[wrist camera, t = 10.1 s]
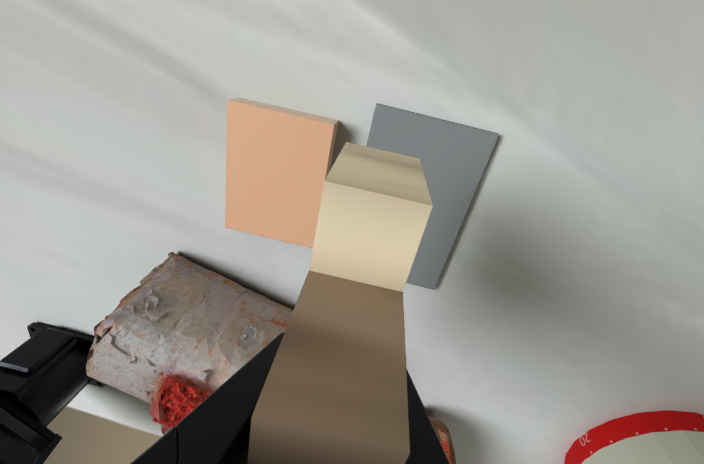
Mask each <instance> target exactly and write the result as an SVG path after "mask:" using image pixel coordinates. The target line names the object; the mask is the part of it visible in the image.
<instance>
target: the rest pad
mask: <svg viewBox="0 0 704 464" xmlns="http://www.w3.org/2000/svg"><path fill="white" fill-rule="evenodd" d="M498 136H499V134H497V133H494V132H490V131H486V130H482V129H478V128H474V127H470V126H466V125H462V124H458V123H454V122H450V121H446V120H442V119H438V118H434V117H429V116H425V115H421V114H417V113H413V112H409V111H405V110H401V109H397V108H393V107H389V106H385V105H381V104H376V108H375V112H374V117H373V121H372V125H371V129H370V133H369V138H368V142H367V146H366V147H370V148H375V149H379V150H383V151H388V152H392V153H397V154H401V155H405V156H410V157H414V158H418V159H420V162H421V165H422V169H423V173H424V176H425V180H426V183H427V187H428V191H429V194H430V198H431V201H432V205H433V207H432V210H431V212H430V215H429V218H428V221H427V224H426V227H425V230H424V232H423V235H422V238H421V241H420V244H419V247H418V250H417V253H416V255H415V258H414V261H413V264H412V267H411V270H410V273H409V275H408V278H407V281H406V283H409V284H413V285H417V286H421V287H425V288H429V289H433V290H434V289H435V286H436V284H437V281H438V279H439V277H440V274H441V272H442V270H443V267H444V265H445V262H446V260H447V258H448V255H449V253H450V250H451V248H452V246H453V243H454V241H455V239H456V236H457V234H458V231H459V229H460V227H461V224H462V222H463V219H464V217H465V215H466V212H467V210H468V208H469V205H470V203H471V200H472V198H473V196H474V193H475V191H476V188H477V186H478V184H479V181H480V179H481V177H482V174H483V172H484V169H485V167H486V165H487V162H488V160H489V157H490V155H491V153H492V150H493V148H494V146H495V143H496V141H497V138H498Z"/></svg>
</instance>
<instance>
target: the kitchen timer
mask: <svg viewBox="0 0 704 464" xmlns="http://www.w3.org/2000/svg"><path fill="white" fill-rule="evenodd" d="M564 464H704V415H701V414H698V413H692V412H679V411H657V412H645V413H637V414H633V415H629V416H625V417H621V418H617V419H613V420H611V421H608V422H606V423H604V424H602V425H600V426H597V427H595V428H593V429H591V430H589V431H588V432H587V433H585V434H584V435H583V436H581V437H580V438H579V439H577V440H576V441H575V442H574V443H573V445H572V446H571V448H570V449H569V450H568V452H567V453H566V456H565V462H564Z"/></svg>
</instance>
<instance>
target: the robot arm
mask: <svg viewBox="0 0 704 464" xmlns="http://www.w3.org/2000/svg"><path fill="white" fill-rule="evenodd" d="M27 328H28V331H29V334H30V337H31V338H30V339H29V340H27V341H26V342H25V343H23V344H22V345H21V346H19V347H18V348H17V349H15V350H14V351H13V352H11V353H10V354H9V355H7V356H6V357H5V358H3V359H2V360H1V361H0V464H43V463H44V461H45V460H46V459H47V457H48V456H49V455H50V453H51V452H52V451H53V449H54V448H55V447H56V445H57V444H58V443H59V441H60V440H61V439H62V436H60V435H59V434H55V433H53V432H52V431H51V430H49V429H48V428H47V427H46V426H47V425H48V424H49V423H50V422H51V421H52V420H53V419H54V418H55V417H56V416H57V415H58V414H59V413H60V412H61V411H62V410H63V409H64V408H65V407H66V406H67V405H68V404H69V403H70V402H71V401H72V399H73V398H74V397H75V396H76V395H77V394H78V393H79V392H80V391H81V390H82V389H83V388H84V387H85V386H86V385H87V384H91V385H95V386H99V387H104V386H105V384H104V383H102V382H100V381H98V380H96V379H94V378H91V377H89V376H87V373H86V365H87V358H88V353H89V350H90V349H91V346H92V344H93V341H94V339H95V338H94V337H91V336H87V335H83V334H79V333H75V332H71V331H67V330H63V329H59V328H55V327H51V326H47V325H43V324H39V323H35V322H33V323H31V324H30V325H29V326H28V327H27ZM284 333H285V332H282V333H280V334H279V335H278V336H277V337H276V338H274V339H273V340H272V341H271V342H270V343H269V344H268V345H266V346H265V347H264V348H263V349H262V350H261V351H260V352H258V353H257V354H256V355H255V356H254V357H253V358H252V359H251V360H249V361H248V362H247V363H246V364H245V365H244V366H243V367H241V368H240V369H239V370H238V371H237V372H236V373H235V374H233V375H232V376H231V377H230V378H229V379H228V380H227V381H225V382H224V383H223V384H222V385H221V386H220V387H219V388H217V389H216V390H215V391H214V392H213V393H212V394H211V395H209V396H208V397H207V398H206V399H205V400H204V401H203V402H202V403H200V404H199V405H198V406H197V407H196V408H195V409H194V410H192V411H191V412H190V413H189V414H188V415H187V416H186V417H184V418H183V419H182V420H181V421H180V422H179V423H178V424H177V427H176V426H174V427H173V428H172V429H171V430H169V431H168V432H167V433H166V434H165V435H164V436H163V437H161V439H159V440H158V441H157V442H156V443H154V444H153V445H152V446H151V447H150V448H148V449H147V450H146V451H145V452H144V453H142V454H141V455H140V456H139V457H138V458H137V459H135V460H134V461H133V462H131V463H130V464H247V462H248V451H249V440H250V429H251V418H252V414H253V412H254V409H255V407H256V404H257V402H258V399H259V397H260V394H261V392H262V389H263V386H264V384H265V381H266V379H267V376H268V374H269V371H270V369H271V366H272V364H273V361H274V358H275V356H276V353H277V351H278V348H279V346H280V343H281V341H282V338H283V336H284ZM406 375H407V397H408V419H409V441H410V454H409V456H408V458H407V460H406V462H405V464H450V462H449V460H448V458H447V456H446V454H445V451H444V449H443V447H442V445H441V443H440V441H439V438H438V436H437V434H436V432H435V430H434V427H433V425H432V423H431V421H430V419H429V417H428V414H427V412H426V410H425V408H424V406H423V403H422V401H421V399H420V397H419V395H418V393H417V390H416V388H415V386H414V384H413V382H412V380H411V377H410V375H409V373H408V371H407V369H406Z"/></svg>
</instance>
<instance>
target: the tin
mask: <svg viewBox="0 0 704 464" xmlns="http://www.w3.org/2000/svg"><path fill="white" fill-rule="evenodd" d="M428 417H429V416H428ZM429 419H430V421H431V423H432V425H433V427H434V430H435V432H436V434H437V436H438V438H439V441H440V443H441V445H442V447H443V449H444V451H445V454H446V456H447V458H448V460H449V462H450V464H456V460H455V454H454V449H453V444H452V440H451V437H450V433H449V430H448V428H447V427H446V426H445V424H443V423H442V422H441V421H439V420H438V419H435V418H433V417H429Z"/></svg>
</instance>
